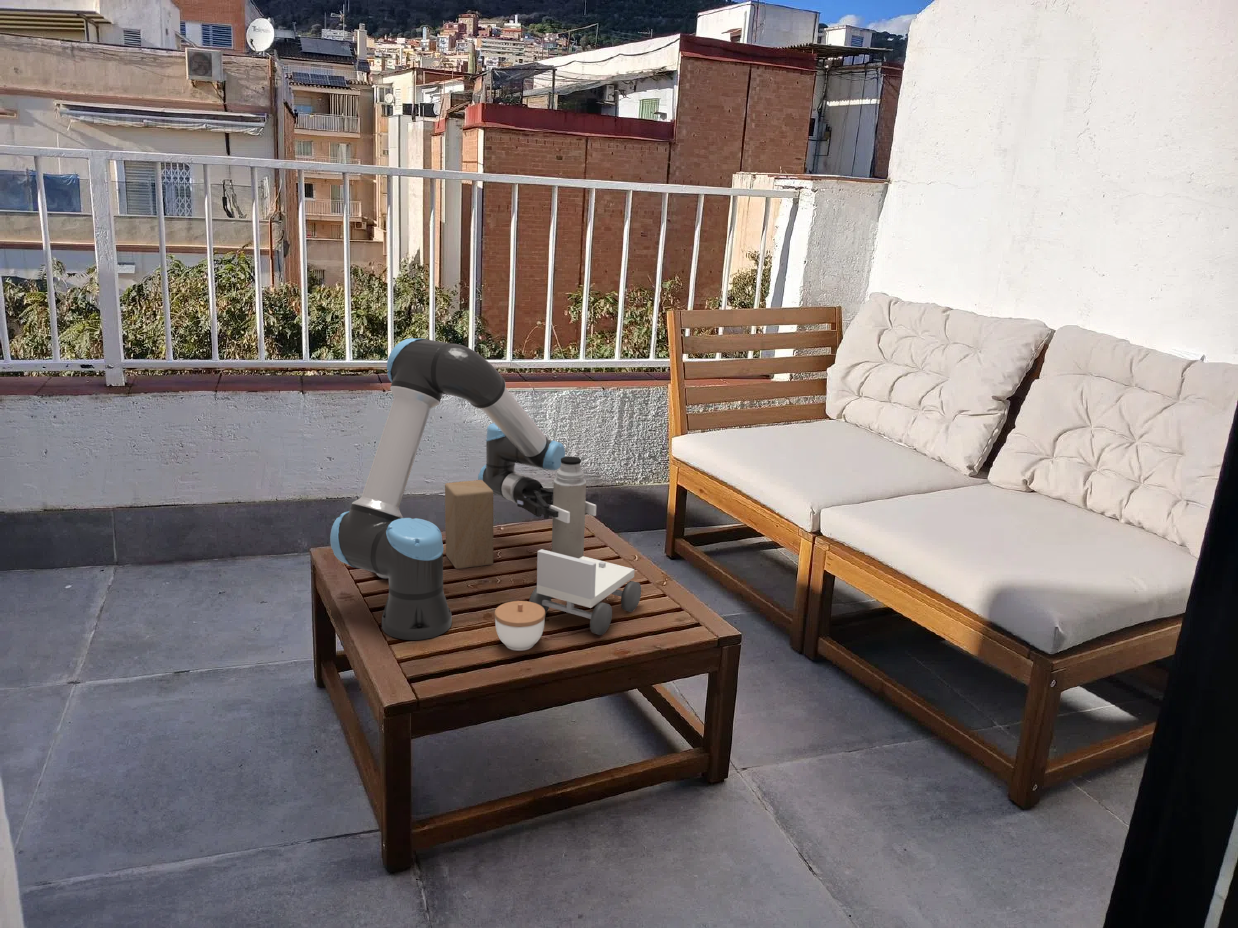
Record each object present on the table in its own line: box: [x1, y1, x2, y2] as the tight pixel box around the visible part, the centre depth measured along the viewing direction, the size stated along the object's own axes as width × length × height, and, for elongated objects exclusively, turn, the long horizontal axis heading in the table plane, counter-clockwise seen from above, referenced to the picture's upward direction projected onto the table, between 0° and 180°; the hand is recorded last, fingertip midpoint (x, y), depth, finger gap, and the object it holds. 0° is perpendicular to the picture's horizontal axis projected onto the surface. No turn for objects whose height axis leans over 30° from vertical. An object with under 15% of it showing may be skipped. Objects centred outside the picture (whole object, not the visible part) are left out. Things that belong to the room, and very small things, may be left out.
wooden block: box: [444, 479, 494, 570], centre depth 250 cm, size 10×10×20 cm
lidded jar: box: [494, 600, 546, 652], centre depth 208 cm, size 11×11×9 cm
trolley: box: [528, 548, 642, 636], centre depth 223 cm, size 21×18×17 cm
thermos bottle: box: [551, 456, 587, 559], centre depth 241 cm, size 8×8×28 cm
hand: (581, 514), depth 238 cm, fingers closed on thermos bottle, 8 cm apart
